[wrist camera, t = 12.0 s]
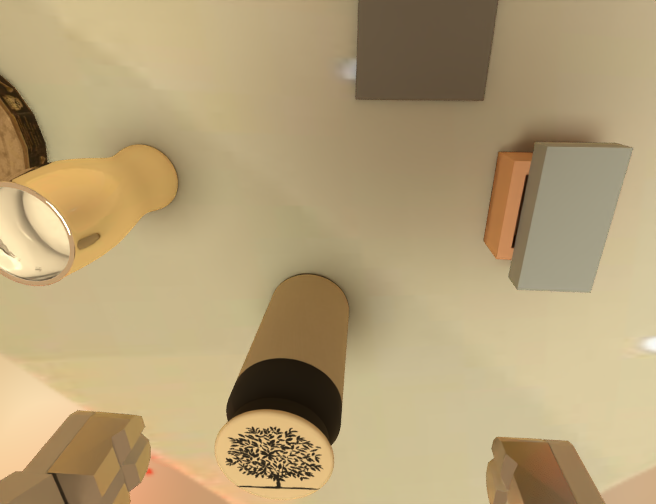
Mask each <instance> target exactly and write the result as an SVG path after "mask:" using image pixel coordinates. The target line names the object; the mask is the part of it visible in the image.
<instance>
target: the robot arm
mask: <svg viewBox="0 0 656 504" xmlns="http://www.w3.org/2000/svg"><path fill="white" fill-rule="evenodd" d="M144 427H145V425H144V422H143V419H142V416H138V415H129V414H118V413H107V412H93V411H80V410H77V411H76V412H74V413H72V414H71V415H70V416H69V417H68V418H67V419H66V420H65V421H64V423H63V424H62V425H61V426H60V427H59V428H58V430H57V431H56V432H55V433H54V435H53V436H52V437H51V438H50V439H49V440H48V442H47V443H46V444H45V445H44V446H43V447H42V449H41V450H40V451H39V452H38V453H37V455H36V456H35V457H34V458H33V459H32V461H31V462H30V463H29V464H28V465H27V467H26V468H25V469H24V470H23V471H22V472H18V471H16V472H14V473H12V474H11V475H9V476H7V477H5V478H4V479H2V480H0V504H130V502H131V500H130V493H129V492H130V491H131V490H132V489H134V488H135V487H136V486H137V485H139V484H140V483H141V481H142V480H143V478H144V476H145V474H146V472H147V469H148V465H149V461H150V458H151V447H150V443H149V440H148V439H147V438H146V437H145V436H144V435H143V434H142V433H141V432H142V431H143V429H144ZM491 449H492V452H493V455H494V459H492V460H491V461H490V462H488V466H487V472H486V487H487V492H488V498H489V502H490V504H605V502H604V500H603V499H602V497H601V495H600V493H599V491H598V489H597V488H596V486H595V484H594V482H593V480H592V479H591V477H590V475H589V473H588V471H587V470H586V468H585V466H584V464H583V462H582V461H581V459H580V457H579V455H578V453H577V451H576V450H575V448H574V446H573V445H572V444H571V443H570V442H569V441H562V440H545V439H544V440H542V439H532V438H511V437H496V438H495V439H494V440H493V444H492V448H491Z"/></svg>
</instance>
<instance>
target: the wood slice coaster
mask: <svg viewBox="0 0 656 504" xmlns="http://www.w3.org/2000/svg"><path fill="white" fill-rule="evenodd" d="M45 163H47V154H46V145H45V141H44V139H43V136H42V134H41V131H40V129H39V126H38V124H37V121H36V119H35V116H34V114H33V113H32V111H31V110H30V109H29V107H28V106H27V104H26V103H25V102H24V100H23V99H22V97H21V96H20V94H19V93H18V92H17V90H16V89H15V87H13V86H12V85H11V84H10V83H9V82H8V81H7V80H6V79H4V78H3V77H2V76H1V75H0V179H3V178H5V177H7V176H10V175H12V174H15V173H18V172H20V171H23V170H25V169H29V168H32V167H35V166H38V165H41V164H45Z"/></svg>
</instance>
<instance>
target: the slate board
mask: <svg viewBox="0 0 656 504" xmlns="http://www.w3.org/2000/svg"><path fill="white" fill-rule="evenodd" d="M632 150H633V148H632V147H628V146H624V145H621V144H617V143H587V142H535V145H534V150H533V155H532V160H531V165H530V170H529V175H528V180H527V185H526V190H525V195H524V200H523V205H522V210H521V216H520V221H519V226H518V231H517V236H516V241H515V246H514V251H513V256H512V261H511V266H510V271H509V276H508V277H509V279H510V280H511V282H512V283H513V284H514V286H515V287H516V289H517V290H536V291H560V292H584V293H591V290H592V286H593V283H594V279H595V276H596V273H597V269H598V266H599V262H600V259H601V256H602V252H603V249H604V245H605V242H606V239H607V235H608V232H609V228H610V225H611V222H612V218H613V215H614V211H615V208H616V205H617V201H618V198H619V194H620V191H621V188H622V184H623V181H624V177H625V174H626V171H627V167H628V164H629V160H630V157H631V154H632Z"/></svg>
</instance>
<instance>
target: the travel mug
mask: <svg viewBox="0 0 656 504" xmlns="http://www.w3.org/2000/svg"><path fill="white" fill-rule="evenodd" d="M348 318H349V306H348V302H347V299H346V297H345V295H344V293H343V292H342V291H341V289H340V288H339V287H338V286H337V285H336V284H334V283H333V282H331V281H330V280H328V279H326V278H323V277H321V276H317V275H309V274H306V275H298V276H294V277H291V278H289V279H287V280H285V281H284V282H282V283H281V284H280V285H279V286H278V287H277V289H276V290H275V292H274V294H273V296H272V298H271V301H270V303H269V305H268V308H267V310H266V312H265V315H264V317H263V319H262V322H261V324H260V326H259V329H258V331H257V333H256V336H255V338H254V341H253V343H252V345H251V348H250V350H249V352H248V355H247V357H246V359H245V362H244V364H243V366H242V369H241V371H240V373H239V376H238V378H237V381H236V383H235V385H234V388H233V390H232V392H231V395H230V397H229V399H228V403H227V409H226V413H227V419H228V422H227V423H226V424H225V425H224V426H223V427H222V428H221V430H220V431H219V433H218V435H217V438H216V441H215V457H216V460H217V463H218V465H219V467H220V469H221V470H222V472H223V473H224V474H225V476H226V477H227V478H228V479H229V480H230V481H231V482H233V483H234V484H235V485H237V486H238V487H239V488H241V489H243V490H245V491H247V492H249V493H251V494H253V495H256V496H259V497H263V498H268V499H274V500H291V499H297V498H302V497H305V496H308V495H310V494H312V493H314V492H316V491H317V490H319V489H320V488H321V487H322V486H323V485H324V484H325V483H326V482H327V481H328V479H329V478H330V476H331V474H332V471H333V467H334V455H333V450H332V447H331V445H332V444H333V443H334V442H335V440H336V438H337V436H338V434H339V431H340V427H341V414H342V400H343V386H344V373H345V359H346V345H347V331H348Z"/></svg>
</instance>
